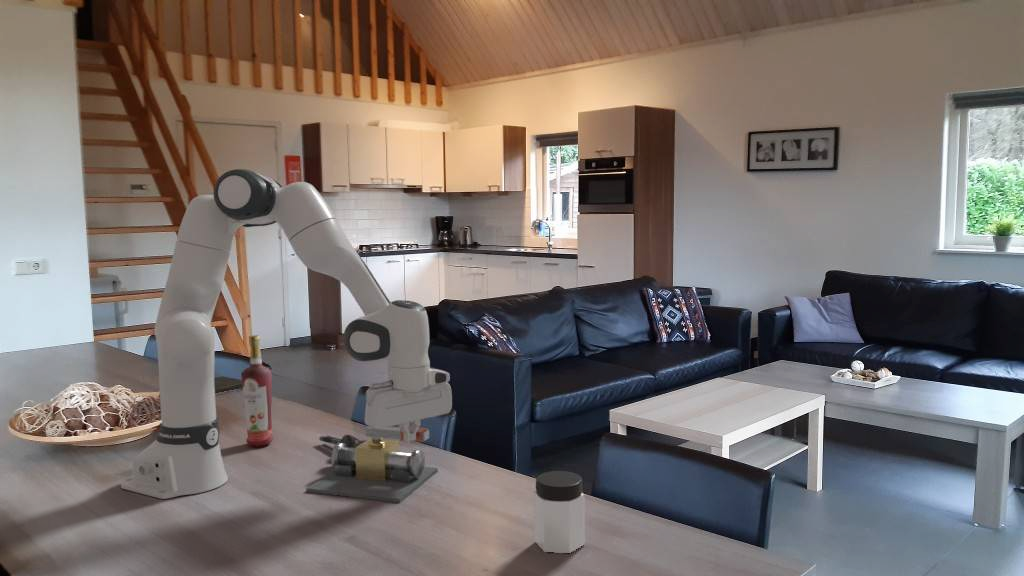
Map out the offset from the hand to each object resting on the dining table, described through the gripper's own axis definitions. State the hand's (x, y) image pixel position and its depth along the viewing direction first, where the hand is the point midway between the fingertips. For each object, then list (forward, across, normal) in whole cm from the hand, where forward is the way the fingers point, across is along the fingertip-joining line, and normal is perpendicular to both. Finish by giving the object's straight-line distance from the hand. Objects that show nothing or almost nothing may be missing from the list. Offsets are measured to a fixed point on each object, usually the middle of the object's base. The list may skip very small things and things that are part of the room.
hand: (409, 440), depth 165 cm
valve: (+10, +3, +28) cm, 30 cm away
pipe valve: (+10, -2, +9) cm, 14 cm away
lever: (+2, 0, +5) cm, 5 cm away
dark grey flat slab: (+12, 0, +120) cm, 121 cm away
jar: (+10, +3, -42) cm, 43 cm away
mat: (+10, -4, +8) cm, 14 cm away
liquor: (+11, -11, +52) cm, 54 cm away
